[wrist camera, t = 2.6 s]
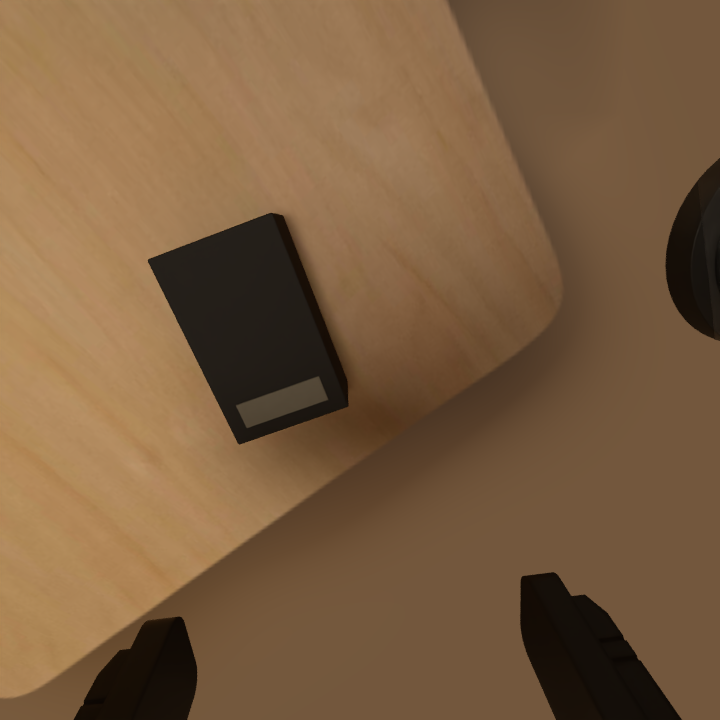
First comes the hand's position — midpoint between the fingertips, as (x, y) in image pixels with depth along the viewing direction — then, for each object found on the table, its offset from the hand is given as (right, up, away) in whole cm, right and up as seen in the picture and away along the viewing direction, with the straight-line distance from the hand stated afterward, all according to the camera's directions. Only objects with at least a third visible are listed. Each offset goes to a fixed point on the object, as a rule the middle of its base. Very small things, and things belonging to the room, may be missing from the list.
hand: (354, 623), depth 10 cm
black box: (-5, +8, +12) cm, 15 cm away
